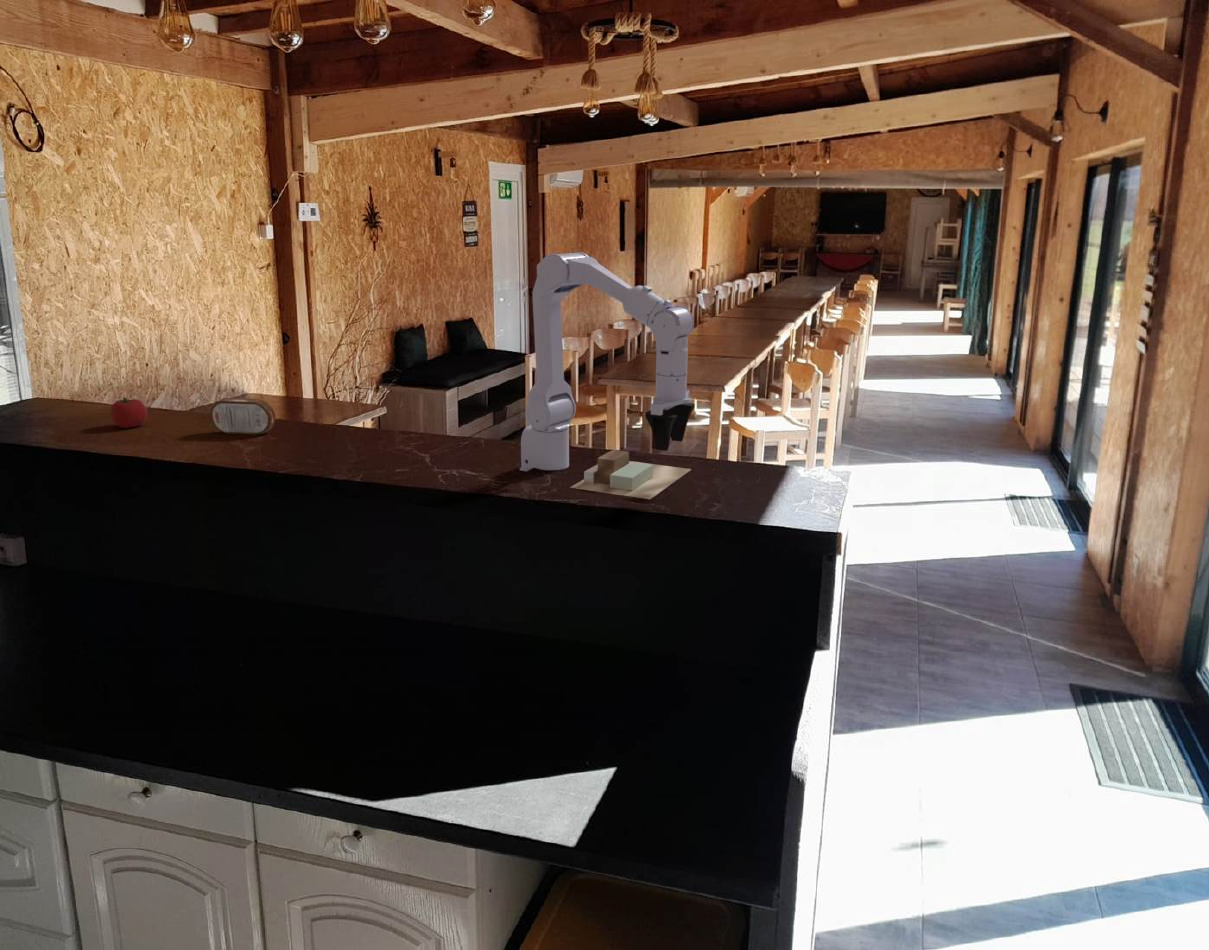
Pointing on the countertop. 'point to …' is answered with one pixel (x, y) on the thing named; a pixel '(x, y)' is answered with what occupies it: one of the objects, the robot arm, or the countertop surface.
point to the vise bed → (647, 490)
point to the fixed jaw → (591, 476)
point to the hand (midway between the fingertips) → (669, 445)
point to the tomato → (128, 413)
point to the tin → (242, 416)
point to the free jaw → (631, 476)
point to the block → (611, 464)
